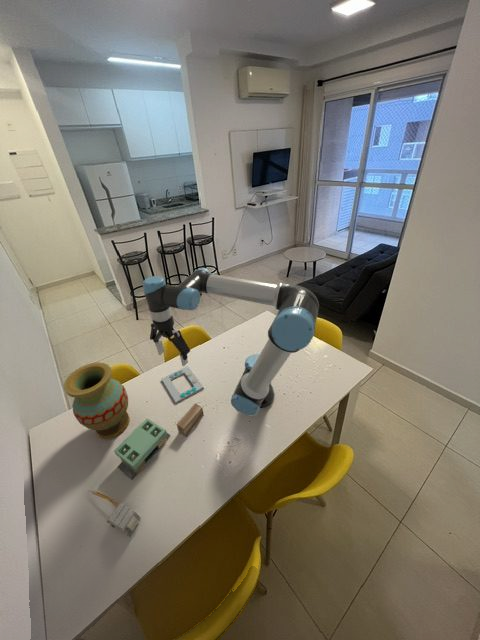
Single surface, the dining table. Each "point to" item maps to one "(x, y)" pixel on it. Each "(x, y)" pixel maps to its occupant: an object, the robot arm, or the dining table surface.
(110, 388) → the vase
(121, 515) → the electrical component
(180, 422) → the brown rectangular block
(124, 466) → the chassis
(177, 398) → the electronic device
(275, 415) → the dining table surface
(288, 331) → the robot arm
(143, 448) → the board
